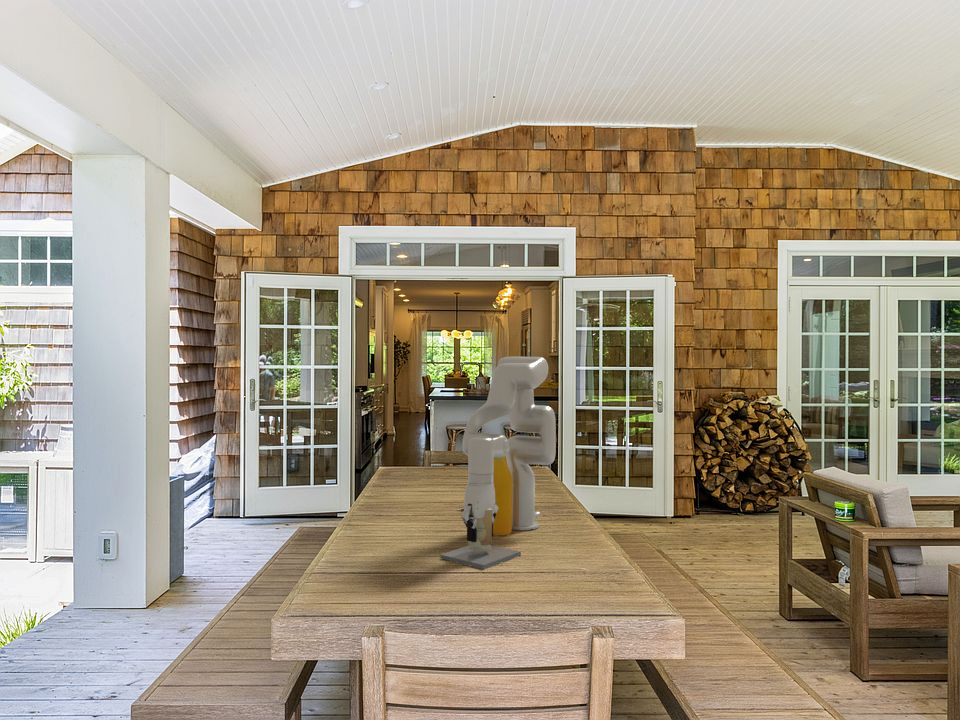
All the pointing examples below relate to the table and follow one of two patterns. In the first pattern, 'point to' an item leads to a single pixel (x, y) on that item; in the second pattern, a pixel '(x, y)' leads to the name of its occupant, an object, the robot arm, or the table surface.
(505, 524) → the beer bottle
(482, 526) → the skincare box
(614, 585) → the table surface
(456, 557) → the slate board
